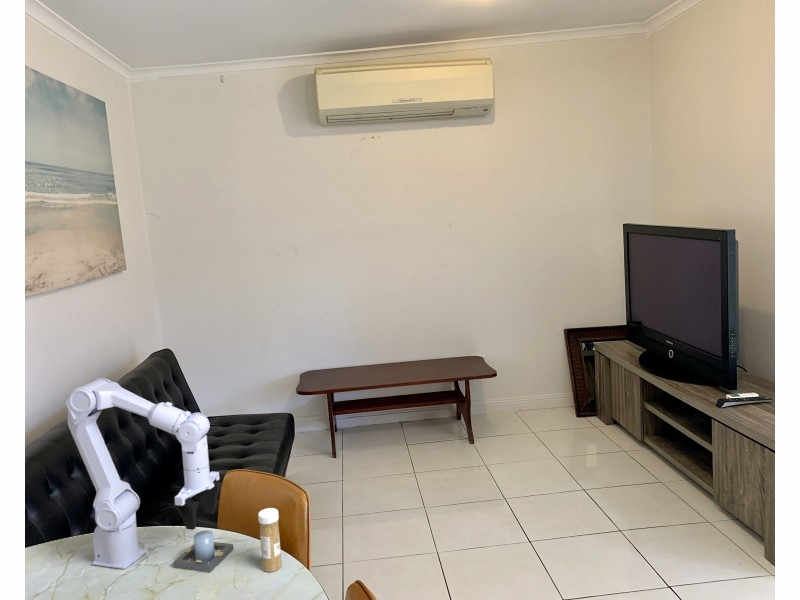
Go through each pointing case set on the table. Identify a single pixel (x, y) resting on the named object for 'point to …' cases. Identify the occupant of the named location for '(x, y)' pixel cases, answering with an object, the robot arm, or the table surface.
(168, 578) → the table surface
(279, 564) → the sprinkles bottle
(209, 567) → the collar
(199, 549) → the blue-grey rounded tapered piece
